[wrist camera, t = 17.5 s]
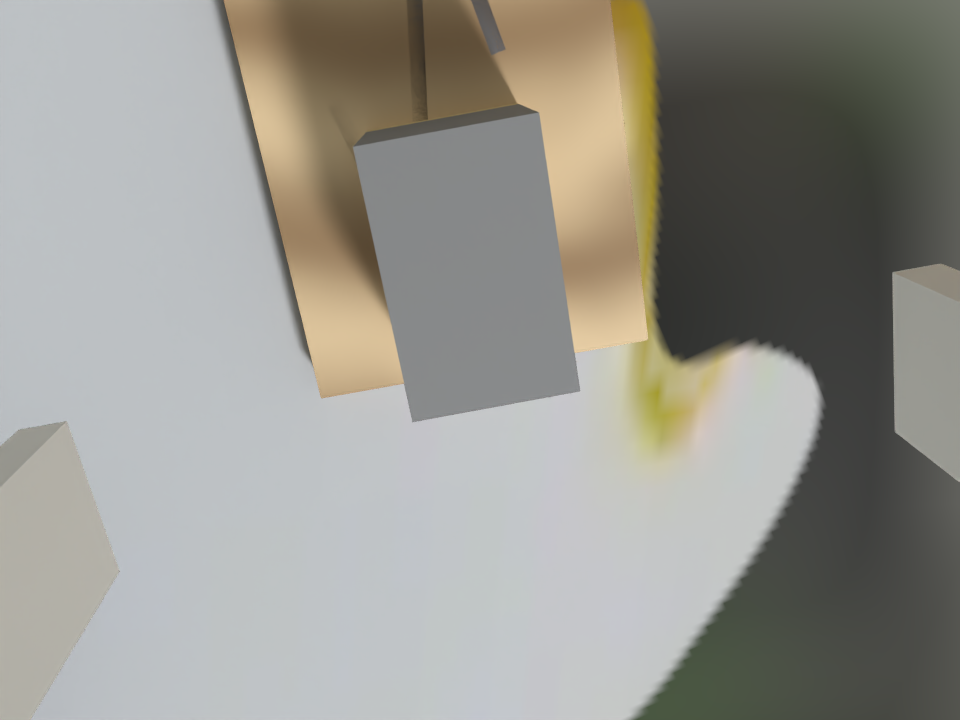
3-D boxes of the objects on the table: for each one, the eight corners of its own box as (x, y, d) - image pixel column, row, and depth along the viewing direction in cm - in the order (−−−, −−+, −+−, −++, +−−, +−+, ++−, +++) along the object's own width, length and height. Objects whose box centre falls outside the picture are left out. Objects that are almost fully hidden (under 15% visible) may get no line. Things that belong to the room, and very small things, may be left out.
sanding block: (367, 130, 29) (353, 146, 23) (517, 103, 29) (539, 112, 23) (415, 357, 31) (412, 422, 26) (552, 332, 31) (580, 391, 26)
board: (140, -382, 25) (123, -409, 24) (548, -455, 25) (556, -486, 24) (325, 384, 33) (321, 398, 32) (638, 327, 33) (648, 340, 32)
